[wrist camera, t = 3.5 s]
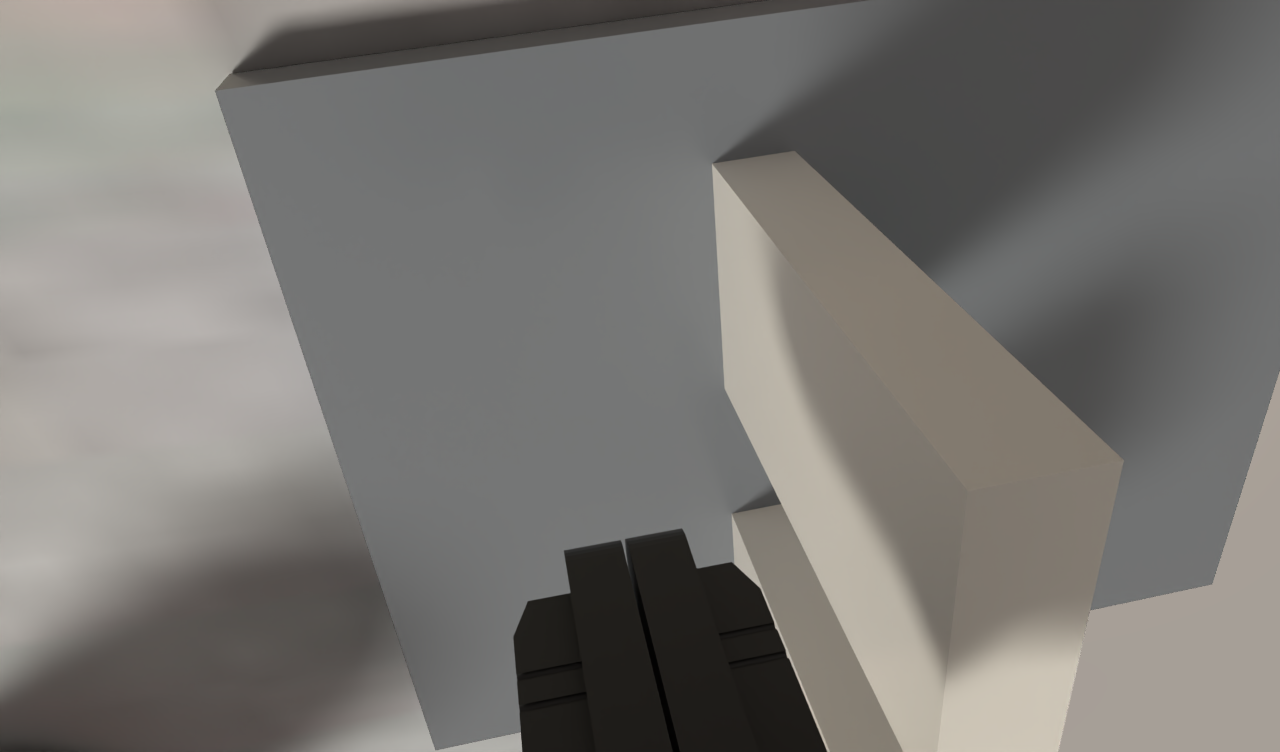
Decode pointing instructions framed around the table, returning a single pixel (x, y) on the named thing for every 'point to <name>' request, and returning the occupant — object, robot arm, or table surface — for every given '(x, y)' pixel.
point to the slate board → (688, 270)
